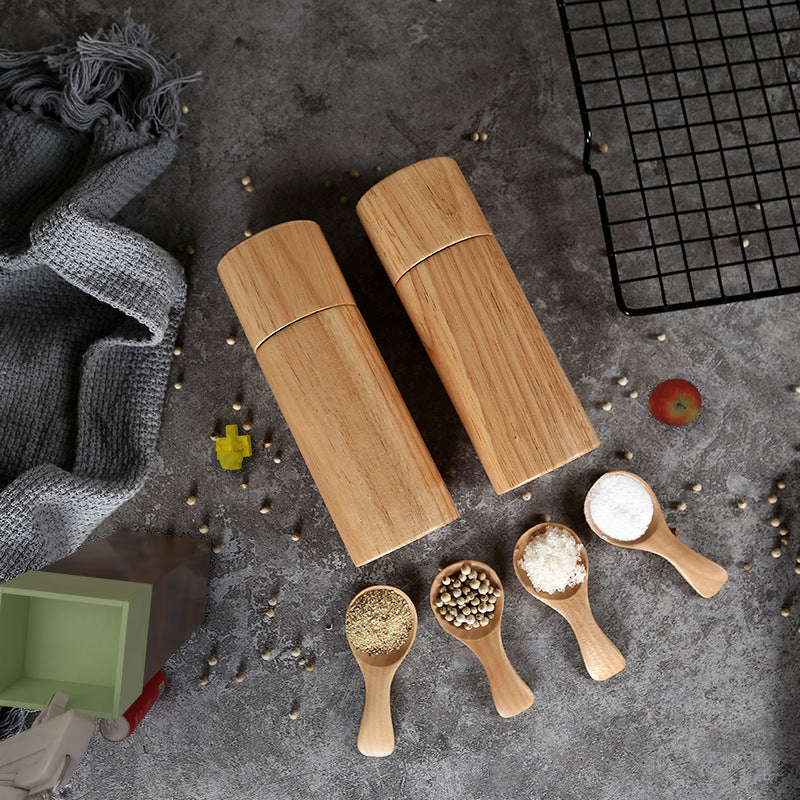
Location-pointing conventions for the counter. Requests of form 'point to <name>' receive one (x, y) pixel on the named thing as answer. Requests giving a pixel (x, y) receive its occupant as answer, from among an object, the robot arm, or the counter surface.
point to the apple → (675, 402)
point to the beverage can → (133, 711)
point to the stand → (152, 582)
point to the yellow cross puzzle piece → (233, 448)
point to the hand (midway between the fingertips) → (61, 694)
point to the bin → (73, 642)
